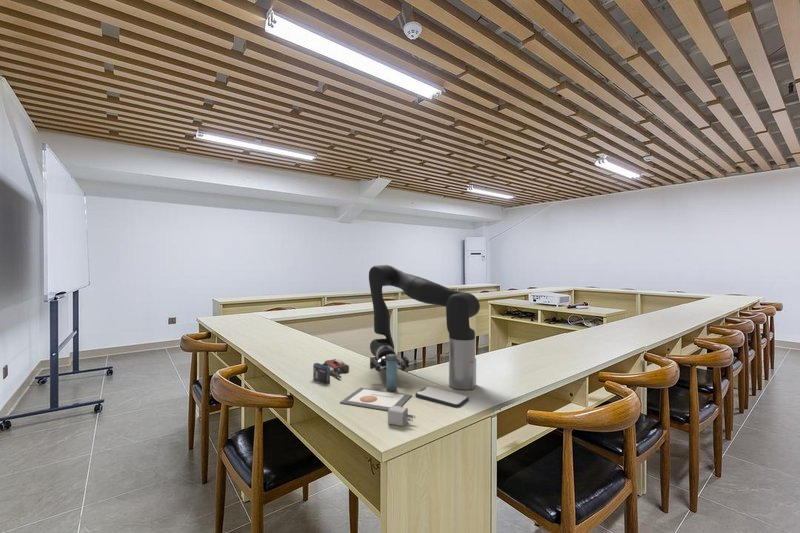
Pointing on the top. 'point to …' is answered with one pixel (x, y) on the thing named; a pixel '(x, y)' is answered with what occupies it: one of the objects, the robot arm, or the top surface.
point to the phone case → (442, 397)
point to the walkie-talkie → (336, 367)
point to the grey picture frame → (376, 399)
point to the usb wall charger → (398, 416)
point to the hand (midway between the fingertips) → (391, 368)
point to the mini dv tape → (321, 373)
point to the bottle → (391, 372)
